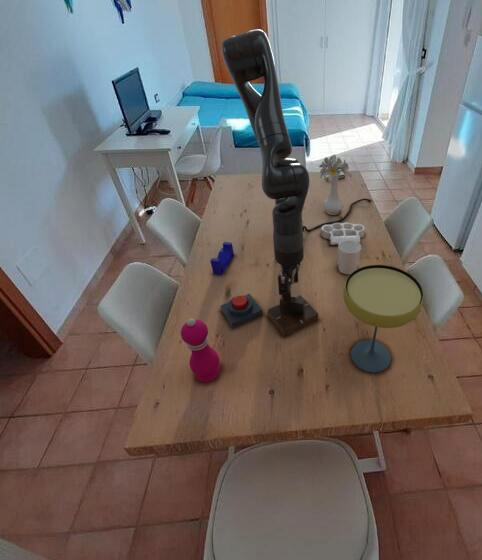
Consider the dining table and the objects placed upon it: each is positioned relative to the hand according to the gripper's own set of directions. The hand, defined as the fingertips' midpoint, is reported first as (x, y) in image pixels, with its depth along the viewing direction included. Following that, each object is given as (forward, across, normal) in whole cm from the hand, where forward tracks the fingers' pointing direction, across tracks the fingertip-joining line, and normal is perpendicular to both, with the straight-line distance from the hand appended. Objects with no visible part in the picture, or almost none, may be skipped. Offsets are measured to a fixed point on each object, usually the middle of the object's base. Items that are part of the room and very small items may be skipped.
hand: (290, 291), depth 94 cm
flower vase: (+11, +70, -2) cm, 71 cm away
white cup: (+11, +28, -14) cm, 33 cm away
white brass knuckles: (+11, +49, -10) cm, 52 cm away
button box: (+11, 0, +16) cm, 20 cm away
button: (+8, -1, +16) cm, 18 cm away
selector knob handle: (+8, 0, 0) cm, 8 cm away
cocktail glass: (+12, -9, -25) cm, 29 cm away
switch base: (+11, 0, 0) cm, 11 cm away
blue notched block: (+12, +22, +32) cm, 40 cm away
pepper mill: (+12, -23, +17) cm, 31 cm away
